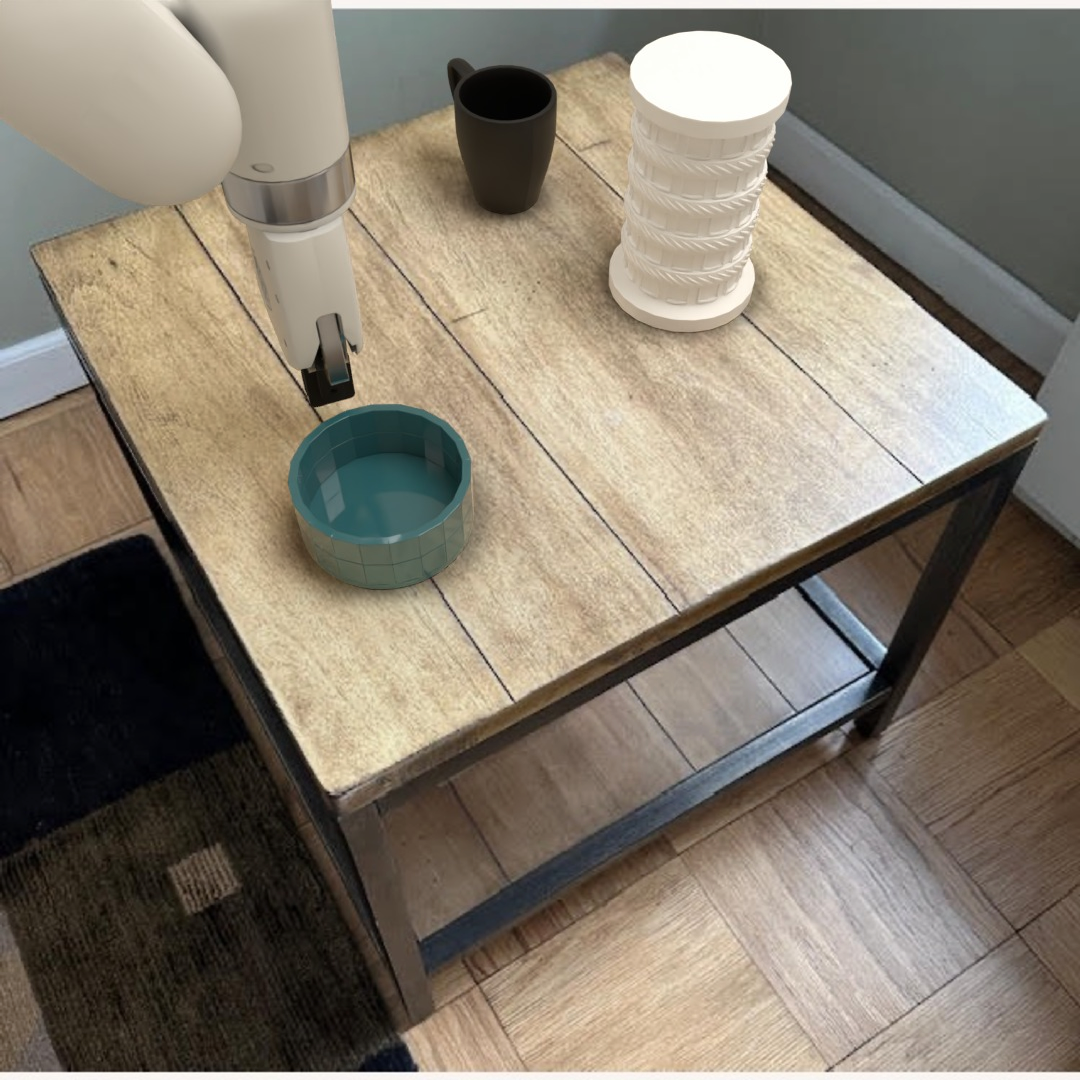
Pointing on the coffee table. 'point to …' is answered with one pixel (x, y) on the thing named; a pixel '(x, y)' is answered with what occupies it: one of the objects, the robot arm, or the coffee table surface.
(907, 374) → the coffee table surface
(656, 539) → the coffee table surface
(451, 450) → the bowl
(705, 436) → the coffee table surface
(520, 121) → the mug
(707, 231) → the decorative container
